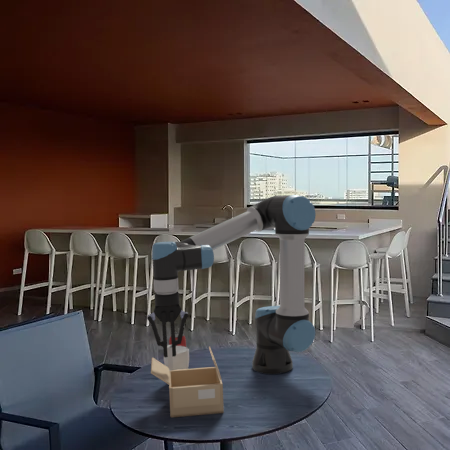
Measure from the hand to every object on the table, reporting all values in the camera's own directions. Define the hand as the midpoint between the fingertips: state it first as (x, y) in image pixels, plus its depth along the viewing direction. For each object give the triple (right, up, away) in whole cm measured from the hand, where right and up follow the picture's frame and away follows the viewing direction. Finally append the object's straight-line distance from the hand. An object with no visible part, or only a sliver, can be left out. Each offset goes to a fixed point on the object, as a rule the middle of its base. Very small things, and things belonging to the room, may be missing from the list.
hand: (170, 366), depth 158 cm
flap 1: (0, -3, 0) cm, 3 cm away
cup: (0, -12, +21) cm, 24 cm away
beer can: (-1, -11, +40) cm, 41 cm away
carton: (+8, -13, +2) cm, 15 cm away
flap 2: (+15, -2, +2) cm, 15 cm away
